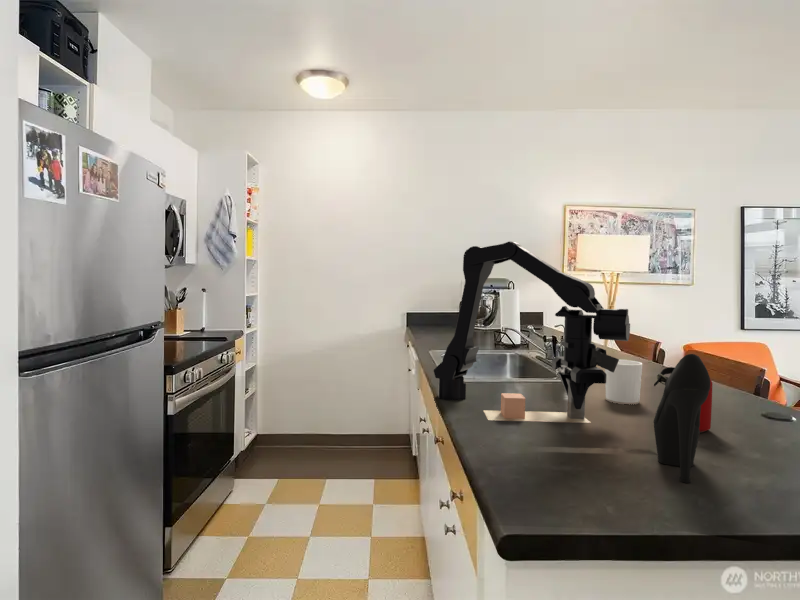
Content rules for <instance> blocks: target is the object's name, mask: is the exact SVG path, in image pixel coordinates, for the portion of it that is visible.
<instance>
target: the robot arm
mask: <svg viewBox="0 0 800 600" xmlns="http://www.w3.org/2000/svg"><path fill="white" fill-rule="evenodd" d="M462 257H463V260H462V261H463V263H462V272H463V277H464V286H463V292H462V295H461V300H460V305H459V310H458V316H457V321H456V326H455V329H454V335H453V337H452V339H451V340H450V342H449V343H448V345H447V347H446V349H445V351H444V355H443V357H442V361H441V362H440V363H439V364H438V365H437V366H435V368H434V369H433V373H434V374H433V375H434V377H435V378H436V379H438V387H437V388H438V390H437V391H438V393H437V394H438V400H445V401H459V400H466V399H467V397H466V396H467V395H466V394H467V384H466V382H465V380H464V378H465V377H464V376H466V375H467V374H468V371H469V369H471V368H472V367H473V366H474V363H476V362H477V354H478V351H479V346H475V345H474V340H473V336H474V332H475V329H476V323H477V318H478V313H479V309H480V304H481V300H482V295H483V290H484V285H485V283H486V282H487V280H488V278H489V277H490V276H491V274H492V271H493V268H494V266H495V265H497V264H498V265H499V264H501V263H505V262H508V261H512V262H513V263H515V264H517V265H518V266H520V267H521V268H522V269H524V270H525V271H527V272H528V273H530V274H531V275H533V276H534V277H536V278H537V279H539V280H541V281H542V282H544V283H545V284H547V285H548V287H550V288H551V289H552V291H553V292H554V293H555V294H556V295H557V296H558V297H559V299H561V300H562V301H563V302H564V303H565V304H566V305H567V306H566V305H562V306H561V308H560V309H559V310H558V311H557V312H555V313H554V316H555V317H557V318H558V317H561V318H562V317H563V318H564V327H563V328H564V329H563V331H564V333H563V336H564V337H563V339H564V340H561V346H562V347H563V356H559V355H557V356H554V358H552V360H551V368H552V369H553V370H558V369H560V372H557V376H558V377H559V379H560V381H561V384H562V385H563V386H562V387H563V389H564V391H565V393H566V396H567V397H568V387H569V390H570V393H571V397H572V400H573V403H574V406H575V409H581V407H582V404H583V401H584V398H585V399H586V394H587V392H588V391H589V388H590V387H591V386H592V385H594V384H599V385H600V384H601V385H603V384H605V385H606V373H605V369H607V370H609V371H611V372H613V373H614V371H615V368H616V366H617V364H618V361H619V360H620V359H619V358H616V357H614V356H611V355H609V354H607V349H604V348H601V347H599V346H597V345H596V344H595V343H593V342H592V335H593V334H594V335H595V336H597V337H598V340H607V341H621V342H629V339H630V335H631V323H630V316H629V309H628V308H617V309H616V308H615V309H614V308H613V309H612V308H604V307H603V305H602V304H601V302H600V301H599V300H598V299H597V298H596V296H595V295H596V293H595V292H596V291H595V288H594V287H593V285H592V284H591V283H589V282H588V281H586V280H582V279H580V278H578V277H575V276H573V275H570V274H568V273H564V272H562V271H560V270H559V269H557V268H556V267H555V266H552V265H551V264H549V263H548V262H546V261H545V260H544V259H542V258H540V257H539V256H537V255H535V254H534V253H533V252H531V251H529V250H528V249H526V248H525V247H523V246H522V245H521V244H520V243H518V242H515V241H507V242H503V243H499V244H494V245H488V246H484V247H483V246H477V245H475V246H471V247H469V248H468V249H466V250H465V251H464V254H463V256H462ZM568 306H569V307H571V308H580V309H569V308H568ZM583 311H584V312H585V313H587V314H584V312H583ZM588 313H589V314H588ZM592 330H593V331H592ZM592 333H593V334H592ZM601 368H602V369H601Z"/></svg>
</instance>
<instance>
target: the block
mask: <svg viewBox="0 0 800 600" xmlns="http://www.w3.org/2000/svg"><path fill="white" fill-rule="evenodd" d="M500 394H501V395H500V411H501V414H502V415H503V417H504V418H515V419H525V411H526V397H525V396H524V395H523V394H522V393H512V392H511V393H507V392H506V393H505V392H504V393H503V392H502V393H500Z"/></svg>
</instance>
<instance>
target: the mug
mask: <svg viewBox="0 0 800 600" xmlns="http://www.w3.org/2000/svg"><path fill="white" fill-rule="evenodd" d="M604 372H605V373H606V383H605V400H606V401H607V402H609V403H612V402H613V403H612V404H616V403H618V404H617V405H624V404H629V405H628V406H632V404H633V406H635V405H638V404H639V403H640V400H641V399H640V398H641V389H642V388H641V386H642V385H641V384H642V373H643V363H642V361H641V362H640V361H636V360H630V359H619V361H618V364H617V366H616V368H615V371H614V373H613V372H611V371H609V370H607V369H604ZM630 404H631V405H630ZM634 404H635V405H634Z"/></svg>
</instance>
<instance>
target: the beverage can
mask: <svg viewBox="0 0 800 600" xmlns="http://www.w3.org/2000/svg"><path fill="white" fill-rule="evenodd" d="M710 382H711V385H710V391H709V394H708V397H707V399H706V401H705V402H704V403H703V404H702V405H701V413H700V428H699V430H700V433H704V432H706V431H708V430H710V429H711V427H712V408H713V381H712V379H711V378H710Z"/></svg>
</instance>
